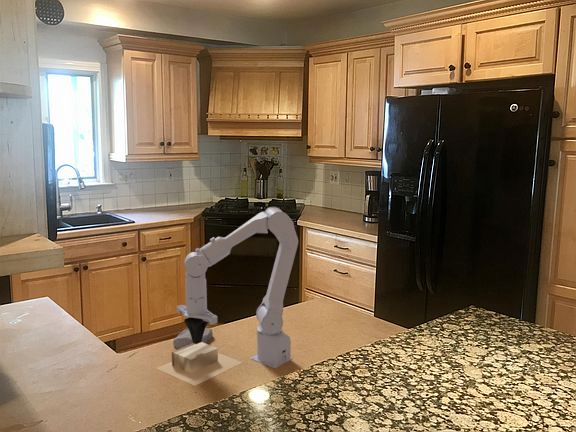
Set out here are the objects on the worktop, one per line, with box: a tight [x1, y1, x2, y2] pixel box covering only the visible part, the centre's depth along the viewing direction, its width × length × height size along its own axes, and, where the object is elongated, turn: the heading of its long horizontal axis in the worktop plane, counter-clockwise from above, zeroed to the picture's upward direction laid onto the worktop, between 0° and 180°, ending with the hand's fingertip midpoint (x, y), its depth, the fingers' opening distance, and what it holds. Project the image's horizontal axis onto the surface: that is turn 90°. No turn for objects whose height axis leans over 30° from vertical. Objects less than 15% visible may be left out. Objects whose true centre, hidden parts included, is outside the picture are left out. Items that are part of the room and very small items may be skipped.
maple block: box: [171, 342, 219, 373], centre depth 151 cm, size 4×10×8 cm
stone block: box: [172, 327, 213, 349], centre depth 167 cm, size 12×5×10 cm
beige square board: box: [155, 352, 243, 387], centre depth 150 cm, size 16×18×1 cm
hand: (197, 342), depth 150 cm, fingers closed
